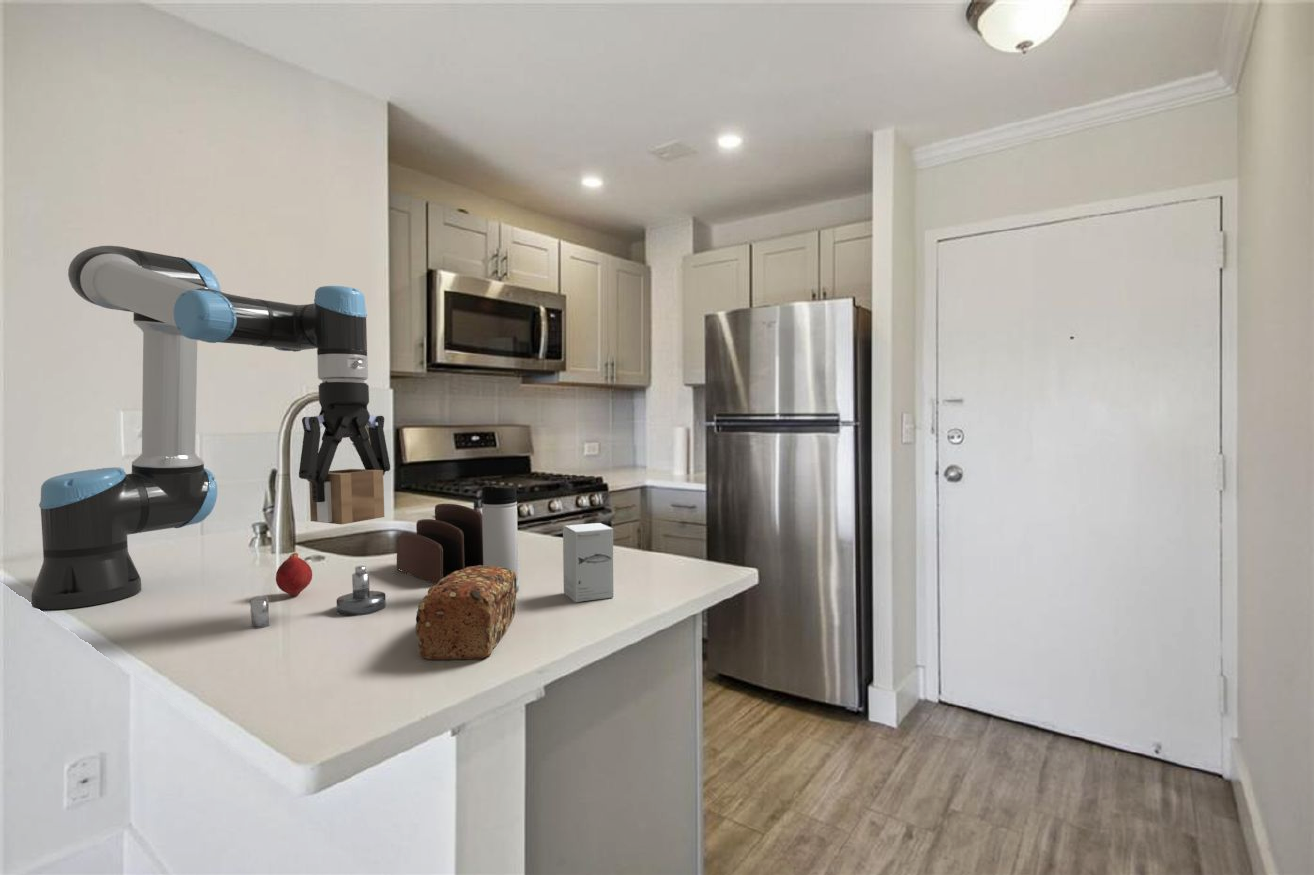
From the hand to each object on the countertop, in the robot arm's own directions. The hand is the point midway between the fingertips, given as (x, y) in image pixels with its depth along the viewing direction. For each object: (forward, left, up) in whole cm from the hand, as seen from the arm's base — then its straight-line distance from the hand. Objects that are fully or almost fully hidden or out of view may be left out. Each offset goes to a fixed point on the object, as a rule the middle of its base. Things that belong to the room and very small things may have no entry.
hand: (348, 517), depth 108 cm
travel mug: (+15, +20, -16) cm, 30 cm away
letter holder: (-6, +25, -16) cm, 31 cm away
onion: (-18, +2, -16) cm, 24 cm away
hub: (0, +2, -16) cm, 16 cm away
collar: (0, 0, 0) cm, 0 cm away
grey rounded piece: (-7, -11, -16) cm, 21 cm away
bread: (+27, -1, -16) cm, 32 cm away
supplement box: (+31, +25, -16) cm, 43 cm away
